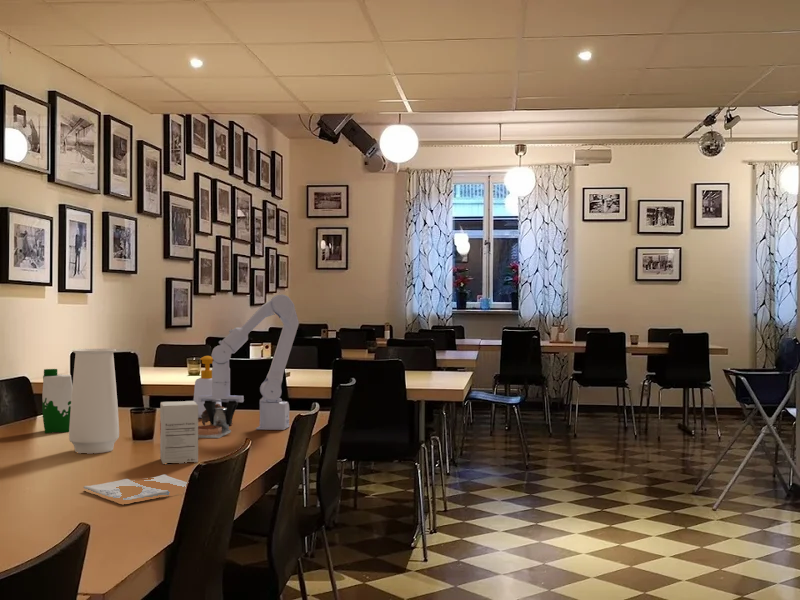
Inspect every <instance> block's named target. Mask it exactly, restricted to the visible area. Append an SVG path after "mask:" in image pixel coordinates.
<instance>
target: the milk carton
mask: <svg viewBox="0 0 800 600" xmlns="http://www.w3.org/2000/svg"><path fill="white" fill-rule="evenodd" d="M42 380H43V381H42V383H43V384H42V393H41V394H42V399H41V400H42V402H41V403H42V422H43V428H44V434H53V433H52V432H59V433H69V426H70V411H71V398H72V386H73V379H72V375H71V374H62V373H60V374H58V369H57V368H44V369H43V375H42Z"/></svg>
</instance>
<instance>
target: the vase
mask: <svg viewBox="0 0 800 600" xmlns="http://www.w3.org/2000/svg"><path fill="white" fill-rule="evenodd" d="M116 351H117V349H116V348H82V349H81V348H80V349H73V350H72V352H73V353H74V354H75V356H74V357H75V358H74V365H73V367H74V368H73V377H72V398H71V411H70V426H69V432H68V439H69V442H70V443H72V445H73V447H74V451H75V453H76V452H78V453H77V454H81V453H87V454H86V455H88V454H91V455H93V453H94V454H103V453H108V452H111V451H113V450H114V445H115V443H116V441H117V440H118V439H119V437H120V425H119V424H120V422H119V421H120V420H119V406H118V395H117V394H118V393H117V382H116V381H117V380H116V370H115V367H116V366H115V358H114V357H115V356H114V353H115V352H116Z"/></svg>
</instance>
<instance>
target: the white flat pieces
mask: <svg viewBox="0 0 800 600" xmlns="http://www.w3.org/2000/svg"><path fill="white" fill-rule="evenodd" d="M152 478H154V479H151V480H144V481H156V482H160V483H170V484H173V485H177V486H182V487H184V486H185V487H186V484H187V481H184V480H181V479H178V478H174V477H172V476H169V475H167V474H161V475H157V476H154V477H152ZM133 481H134V480H131V479H129V478H123V479H119V480H114V481H107V482H105V483H104V482H103V483H99V484H91V485H84V486H83V488H84V489H88V490H91V491H93V492H96V493H99V494H102V495H105V496H108V497H113V498H120V497H121V496H122V495H121V494H122V493H121V492H120V489H119V488H116V487H119V486H136V487H142V489H143V490H142V492H141V493H140V494H138V495H134V496H131V497H127V498H123V500H132V499H137V498H144V497H153V496H158V495H169V493H170V492H169V491H168V490H161V489H156V488H151V487H146V486H143V485H140V484H138V483H135V482H133Z"/></svg>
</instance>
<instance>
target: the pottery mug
mask: <svg viewBox="0 0 800 600" xmlns="http://www.w3.org/2000/svg"><path fill="white" fill-rule="evenodd" d="M215 408H225V407H224V406H222V405H221V406H220V404H216V405H215ZM201 416H202V418H201V419H202V420H201V423H202V426H204V425H206V423H209V422H210V419H209V416H208V413H207V411H206V410H205V411H204V412H203V414H202V415H201ZM233 423H234V422H232V423H231V424H230V425H229V427H232V426H233Z"/></svg>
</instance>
